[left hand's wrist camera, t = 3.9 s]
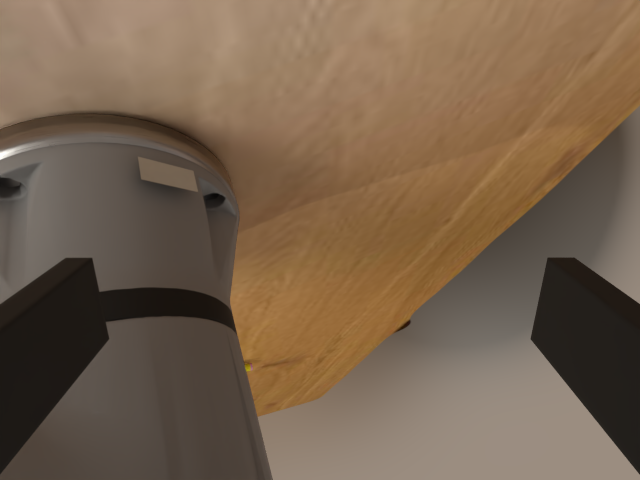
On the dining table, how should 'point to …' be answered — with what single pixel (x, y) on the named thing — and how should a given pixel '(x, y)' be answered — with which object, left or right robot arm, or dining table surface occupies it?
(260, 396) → the dining table surface
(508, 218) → the dining table surface
